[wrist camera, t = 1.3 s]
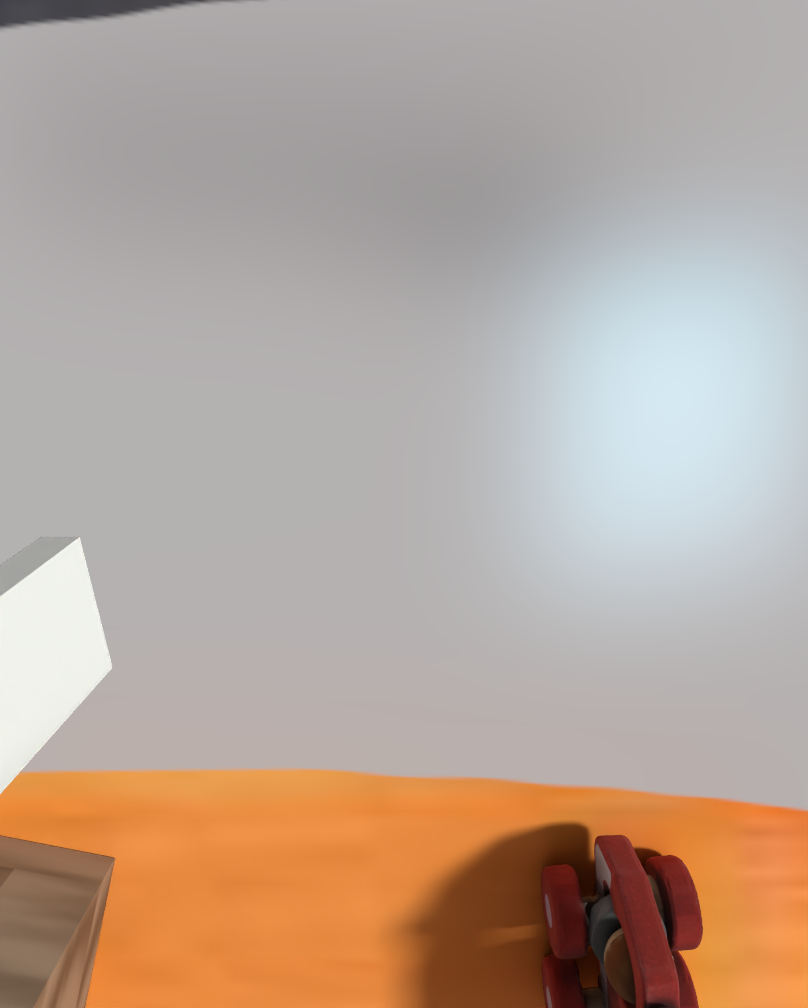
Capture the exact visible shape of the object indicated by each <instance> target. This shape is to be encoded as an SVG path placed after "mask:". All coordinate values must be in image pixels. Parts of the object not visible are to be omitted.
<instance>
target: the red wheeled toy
mask: <svg viewBox="0 0 808 1008" xmlns="http://www.w3.org/2000/svg"><path fill="white" fill-rule="evenodd" d="M594 854H595V884H594V896H582V893H581V890H580V884H579V879H578V876H577V873H576V871H575V870H574V868H573V867H572V866H570V865H567V864H563V865H551V866H547V867H544V869H543V871H542V876H541V888H542V900H543V909H544V916H545V922H546V928H547V933H548V938H549V942H550V945H551V948H552V950H553V953H554V955H548V956H545V957H544V959H543V962H542V981H543V990H544V998H545V1005H546V1008H699V1006H698V1001H697V996H696V992H695V988H694V985H693V981H692V978H691V975H690V972H689V970H688V968H687V965H686V963H685V961H684V959H683V957H682V956H681V955H680V953H679V952H678V951H681V950H692V949H695V948H697V947H698V946H699V944H700V942H701V939H702V934H703V926H702V918H701V911H700V905H699V900H698V896H697V892H696V889H695V886H694V883H693V880H692V878H691V876H690V873H689V871H688V869H687V867H686V866H685V864H684V863H683V861H682V860H681V859H679V858H678V857H676V856H673V855H668V856H655V857H651V858H648V859H647V861H646V863H645V865H644V869H643V867H642V865H641V863H640V861H639V859H638V857H637V855H636V853H635V851H634V849H633V847H632V844H631V842H630V841H629V839H628V838H627V837H625V836H622V835H610V836H608V835H606V836H598V837H597V838H596V840H595V845H594ZM589 945H590V946H592V949H593V952H594V954H595V955H596V957H597V958H598V959H599V964H600V973H599V975H598V988H597V987H591V988H582V986H581V983H580V980H579V971H578V967H577V965H576V962H575V960H574V959H573V958H582V957H584V956H586V954H587V950H588V946H589Z"/></svg>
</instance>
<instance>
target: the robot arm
mask: <svg viewBox="0 0 808 1008" xmlns="http://www.w3.org/2000/svg"><path fill="white" fill-rule="evenodd" d="M111 669H112V664H111V660H110V656H109V652H108V648H107V644H106V640H105V636H104V632H103V628H102V625H101V620H100V616H99V612H98V608H97V605H96V600H95V596H94V592H93V588H92V584H91V580H90V576H89V572H88V569H87V564H86V560H85V556H84V552H83V548H82V545H81V540H80V537H40V538H39V539H37V540H36V541H34V542H33V543H32V544H30V545H29V546H27V547H26V548H24V549H23V550H21V551H20V552H18V553H17V554H16V555H14V556H13V557H11V558H10V559H9V560H7V561H5V562H4V563H2V564H1V565H0V794H1V793H2V792H3V790H4V789H5V788H6V787H7V786H8V785H9V784H10V783H11V781H12V780H13V779H14V778H15V777H16V776H17V775H18V774H19V772H20V771H21V770H22V769H23V768H24V767H25V766H26V764H27V763H28V762H29V761H30V760H31V759H32V758H33V756H34V755H35V754H36V753H37V752H38V751H39V750H40V749H41V748H42V746H43V745H44V744H45V743H46V742H47V741H48V740H49V739H50V737H51V736H52V735H53V734H54V733H55V732H56V731H57V729H58V728H59V727H60V726H61V725H62V724H63V723H64V722H65V720H66V719H67V718H68V717H69V716H70V715H71V714H72V713H73V712H74V710H75V709H76V708H77V707H78V706H79V705H80V704H81V702H82V701H83V700H84V699H85V698H86V697H87V696H88V695H89V693H90V692H91V691H92V690H93V689H94V688H95V687H96V686H97V684H98V683H99V682H100V681H101V680H102V679H103V678H104V676H105V675H106V674H107V673H108V672H109V671H110V670H111Z"/></svg>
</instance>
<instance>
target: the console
mask: <svg viewBox="0 0 808 1008" xmlns="http://www.w3.org/2000/svg"><path fill="white" fill-rule="evenodd" d="M114 860H115V858H112V857H107V856H102V855H97V854H92V853H87V852H82V851H76V850H71V849H66V848H61V847H56V846H51V845H45V844H40V843H35V842H30V841H25V840H20V839H15V838H9V837H4V836H0V1008H85V1005H86V1000H87V995H88V990H89V985H90V980H91V975H92V970H93V965H94V960H95V955H96V950H97V945H98V940H99V935H100V930H101V925H102V920H103V915H104V910H105V905H106V900H107V895H108V890H109V885H110V880H111V875H112V870H113V865H114Z"/></svg>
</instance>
